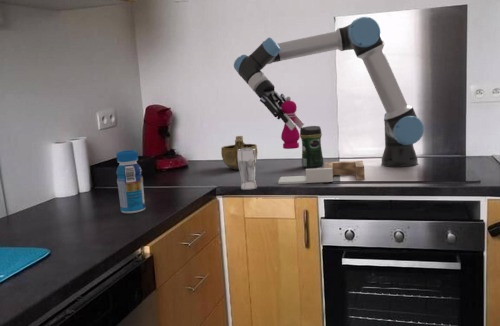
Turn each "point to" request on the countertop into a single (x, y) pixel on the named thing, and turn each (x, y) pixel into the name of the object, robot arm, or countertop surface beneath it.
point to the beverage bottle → (130, 182)
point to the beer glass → (247, 168)
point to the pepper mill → (288, 135)
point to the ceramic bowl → (235, 152)
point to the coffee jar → (311, 146)
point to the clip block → (347, 168)
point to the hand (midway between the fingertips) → (297, 126)
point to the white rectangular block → (319, 175)
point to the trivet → (292, 180)
